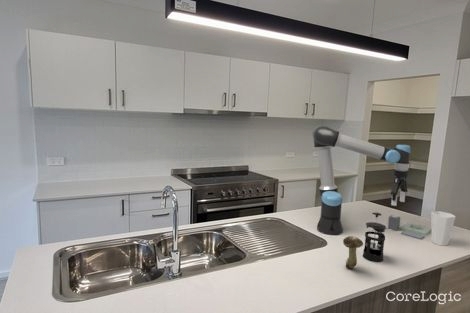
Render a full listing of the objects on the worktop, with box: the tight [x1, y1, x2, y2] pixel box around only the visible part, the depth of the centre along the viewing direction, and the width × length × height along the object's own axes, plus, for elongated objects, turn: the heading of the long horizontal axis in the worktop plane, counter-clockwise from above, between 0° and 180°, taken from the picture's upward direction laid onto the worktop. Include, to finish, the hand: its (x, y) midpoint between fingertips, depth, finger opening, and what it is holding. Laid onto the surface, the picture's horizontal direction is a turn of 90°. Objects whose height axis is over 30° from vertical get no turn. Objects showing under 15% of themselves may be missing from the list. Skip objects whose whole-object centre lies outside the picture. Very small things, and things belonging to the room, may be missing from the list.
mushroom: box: [342, 235, 364, 270], centre depth 132 cm, size 9×9×15 cm
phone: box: [400, 230, 426, 241], centre depth 175 cm, size 11×6×1 cm, turn 42°
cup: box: [430, 210, 456, 247], centre depth 163 cm, size 11×10×17 cm
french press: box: [362, 212, 387, 263], centre depth 143 cm, size 12×9×23 cm
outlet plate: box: [399, 221, 432, 237], centre depth 184 cm, size 14×14×2 cm
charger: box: [387, 214, 401, 232], centre depth 184 cm, size 5×5×8 cm
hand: (397, 203), depth 181 cm, fingers open, 13 cm apart
